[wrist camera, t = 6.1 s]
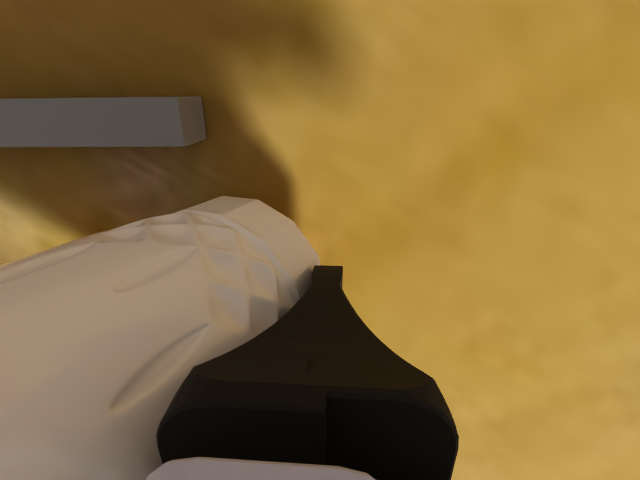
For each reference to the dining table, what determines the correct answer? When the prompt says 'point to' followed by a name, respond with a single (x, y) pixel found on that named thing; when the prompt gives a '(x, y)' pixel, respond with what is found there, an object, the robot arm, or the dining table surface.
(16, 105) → the gray u-shaped frame
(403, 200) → the dining table surface
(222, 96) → the dining table surface
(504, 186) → the dining table surface
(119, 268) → the white cup
